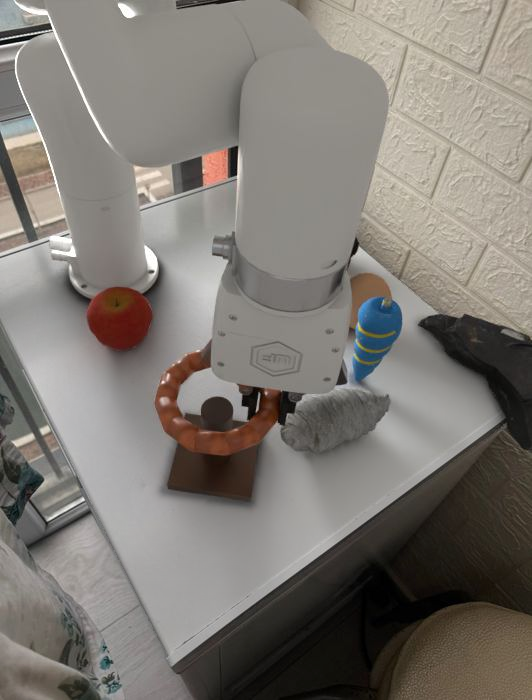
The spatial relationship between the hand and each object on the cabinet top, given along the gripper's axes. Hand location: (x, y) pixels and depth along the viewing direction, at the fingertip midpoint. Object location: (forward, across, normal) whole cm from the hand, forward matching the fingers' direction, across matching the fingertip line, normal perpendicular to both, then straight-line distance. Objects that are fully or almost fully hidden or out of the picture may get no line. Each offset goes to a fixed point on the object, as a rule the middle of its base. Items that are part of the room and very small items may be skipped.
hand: (267, 409), depth 48 cm
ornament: (+12, +11, +14) cm, 22 cm away
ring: (-1, -5, 0) cm, 5 cm away
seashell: (+12, +8, +6) cm, 16 cm away
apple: (+12, -20, +15) cm, 28 cm away
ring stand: (+12, -5, 0) cm, 13 cm away
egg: (+12, +11, +24) cm, 29 cm away
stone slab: (+13, +29, +19) cm, 37 cm away
